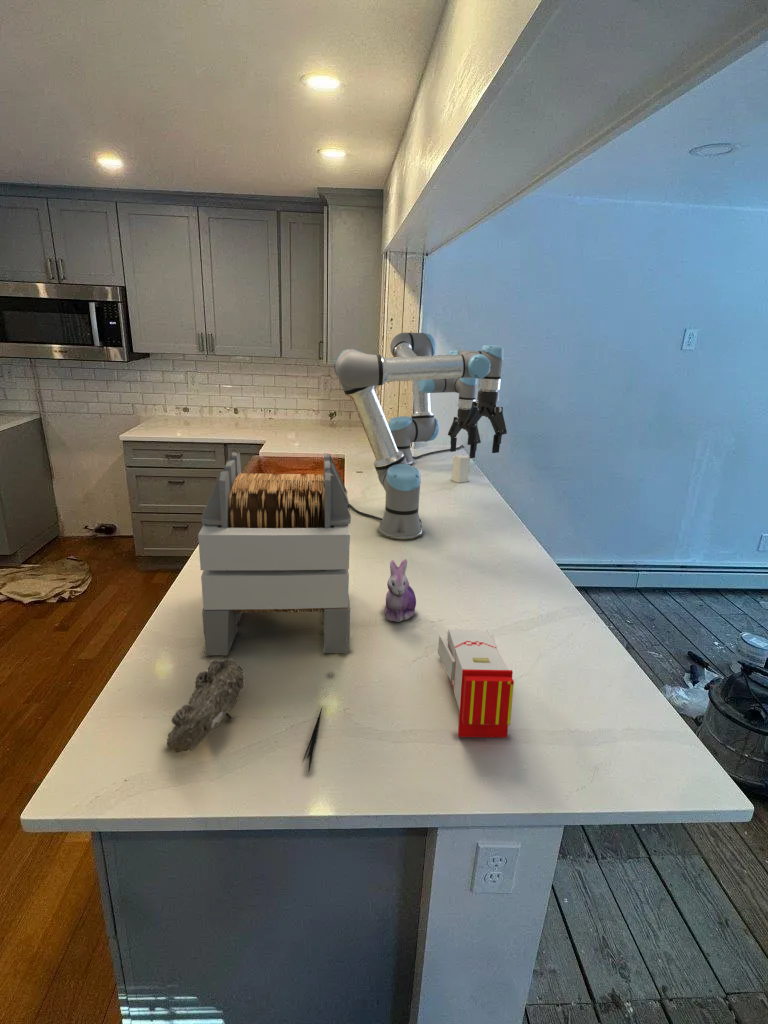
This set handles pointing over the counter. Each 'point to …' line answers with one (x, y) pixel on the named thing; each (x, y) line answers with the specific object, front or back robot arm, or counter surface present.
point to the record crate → (275, 551)
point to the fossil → (206, 705)
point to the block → (460, 468)
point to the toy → (478, 682)
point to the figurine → (399, 594)
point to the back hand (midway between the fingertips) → (462, 454)
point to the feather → (313, 740)
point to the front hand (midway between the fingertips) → (482, 448)
